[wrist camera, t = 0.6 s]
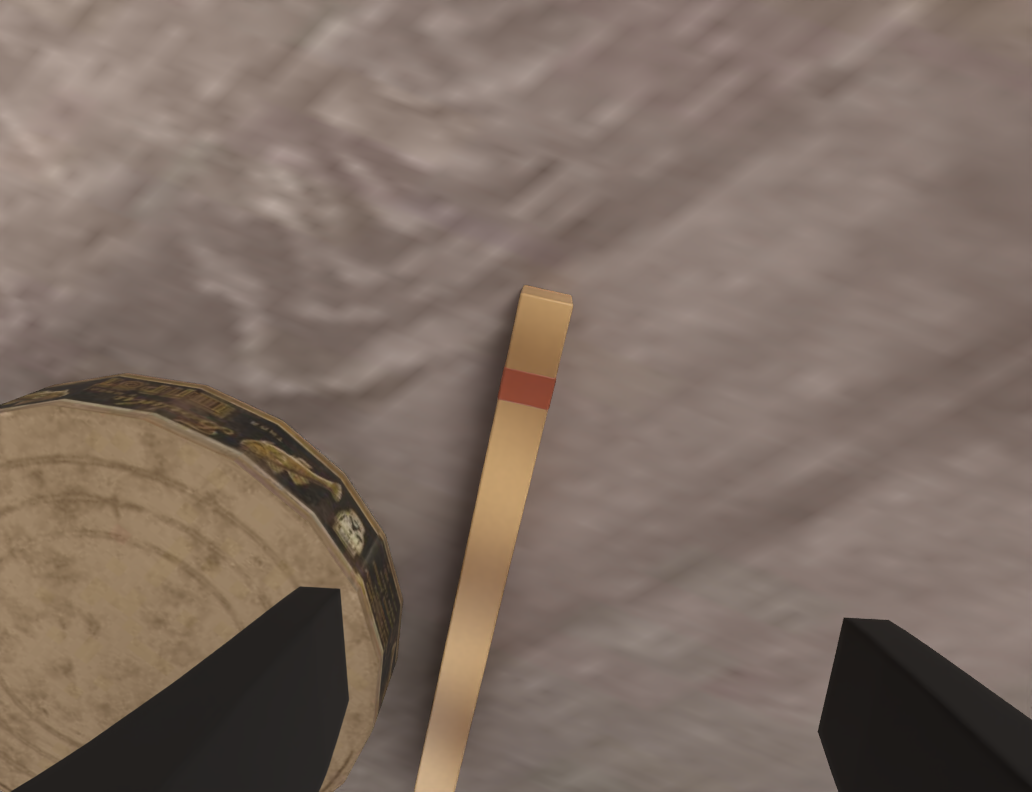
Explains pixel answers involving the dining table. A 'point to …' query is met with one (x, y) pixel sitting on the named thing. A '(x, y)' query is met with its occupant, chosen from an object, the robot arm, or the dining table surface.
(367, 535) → the tin can
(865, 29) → the dining table surface
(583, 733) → the dining table surface
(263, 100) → the dining table surface
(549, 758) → the dining table surface
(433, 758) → the rail
